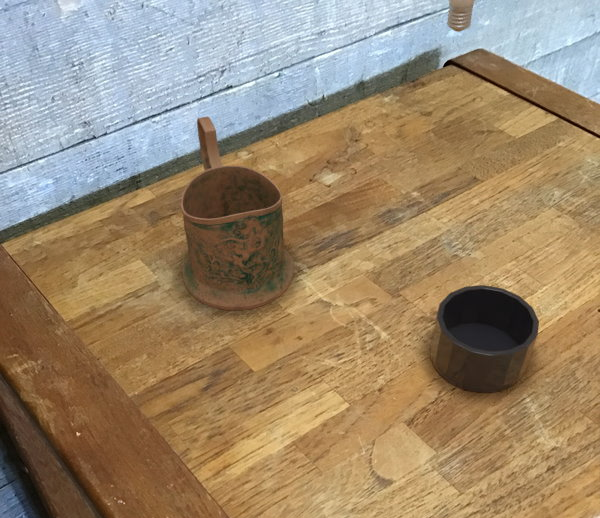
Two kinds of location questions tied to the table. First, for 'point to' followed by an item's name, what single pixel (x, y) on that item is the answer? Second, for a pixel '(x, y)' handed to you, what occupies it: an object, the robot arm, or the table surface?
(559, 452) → the table surface
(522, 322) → the stand
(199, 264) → the mug
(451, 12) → the lightbulb
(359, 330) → the table surface
